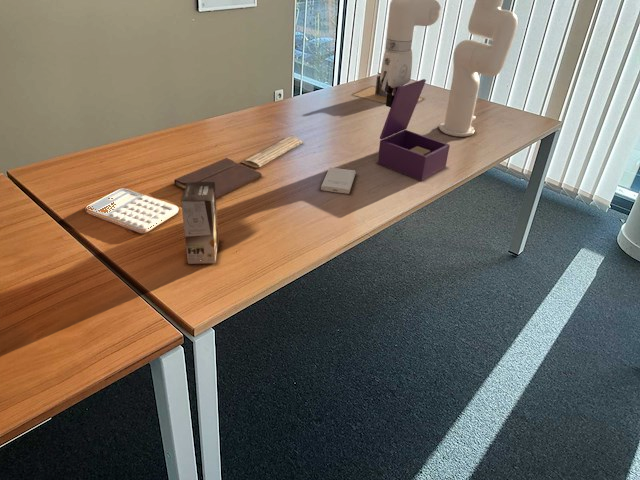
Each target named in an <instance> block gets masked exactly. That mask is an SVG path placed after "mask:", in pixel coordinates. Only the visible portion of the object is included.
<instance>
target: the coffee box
mask: <svg viewBox="0 0 640 480" xmlns="http://www.w3.org/2000/svg"><path fill="white" fill-rule="evenodd" d="M180 203H181V213H182V221H183V230H184V231H183V232H184V240H185V248H186V249H185V250H186V258H187V259H186V260H187V264H189V265H191V264H197V265H198V264H216V261H217V256H218V255H217V254H218V248H219V242H220V239H219V237H220V236H219V223H218V210H217V199H216V194H215V182H187V184H186V187H185V190H184V189H183V193H182V196H181V199H180ZM188 260H189V261H188ZM190 260H191V261H190ZM200 260H201V261H200Z"/></svg>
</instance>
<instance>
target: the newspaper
mask: <svg viewBox="0 0 640 480" xmlns="http://www.w3.org/2000/svg"><path fill="white" fill-rule="evenodd" d="M301 144H303V141H302V140H301V139H300V138H297V137H295V136H287V137H286V138H283V139H281V140H280V141H278V142H276V143H274V144H272V145H271V146H269V147H267V148H265V149H263V150H261V151H259V152H257V153H256V154H254V155H252V156H250V157H248V158H246V159H244V160H243V161H241V164H245V165H247V166H250V167H252V168H255V169H259V168H260V167H263V166H264V165H266V164H267V163H270V162H271V161H273V160H275V159H276V158H278V157H280V156H282V155H284V154H285V153H287V152H289V151H290V150H292V149H294V148H296V147H298V146H299V145H301Z"/></svg>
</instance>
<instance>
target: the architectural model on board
mask: <svg viewBox="0 0 640 480" xmlns="http://www.w3.org/2000/svg"><path fill="white" fill-rule="evenodd" d="M380 75H381V72H378V71H377V76H376V82H375V86H373V85H372V86H369V87H368V88H365V89H363V90H361V91H358V92H356V93H354V94H353V96H355V97H360V98H362V99H367V100H371V101H375V102H379V103H383V104H386V99H387V94H386V91H384V90H382V84H381V83H380ZM422 100H423V97H419V99H418V102H420V101H422Z"/></svg>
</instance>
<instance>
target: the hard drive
mask: <svg viewBox="0 0 640 480" xmlns="http://www.w3.org/2000/svg"><path fill="white" fill-rule="evenodd" d="M356 174H357V171H356V170H354V169H347V168H346V169H345V168H337V167H328V169H327V172H326V174H325V177H324V179H323V181H322V184H321V185H320V190H321V191H324V192H330V193H338V194H350V192H351V189H352V186H353V183H354V180H355V178H356Z"/></svg>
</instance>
